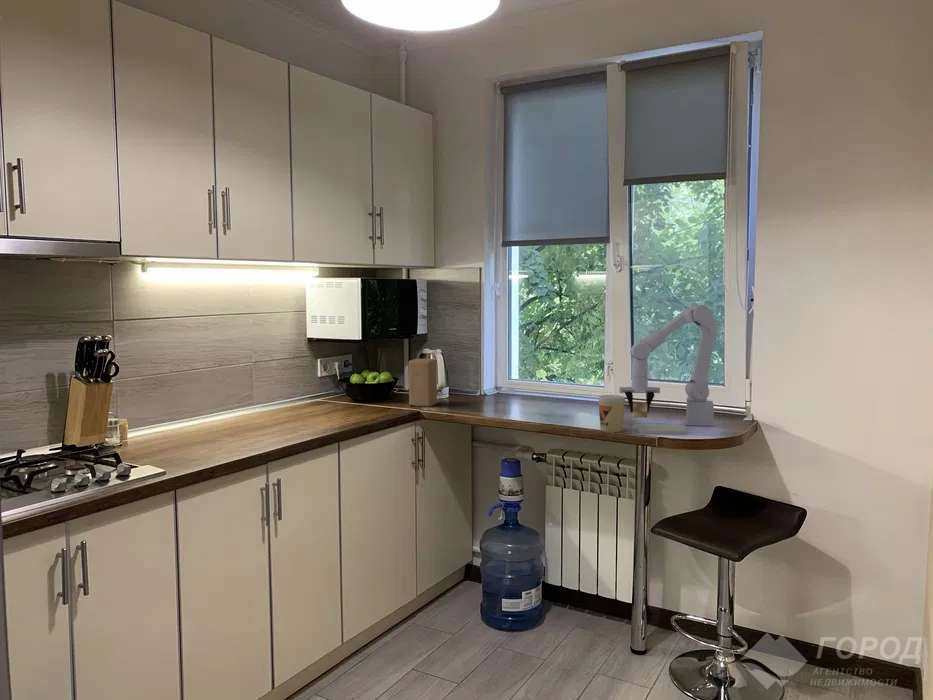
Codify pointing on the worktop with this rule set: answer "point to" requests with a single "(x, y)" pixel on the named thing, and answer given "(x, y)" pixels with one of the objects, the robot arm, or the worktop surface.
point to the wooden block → (423, 382)
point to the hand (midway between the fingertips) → (639, 412)
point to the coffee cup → (611, 412)
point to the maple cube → (639, 409)
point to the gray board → (660, 429)
